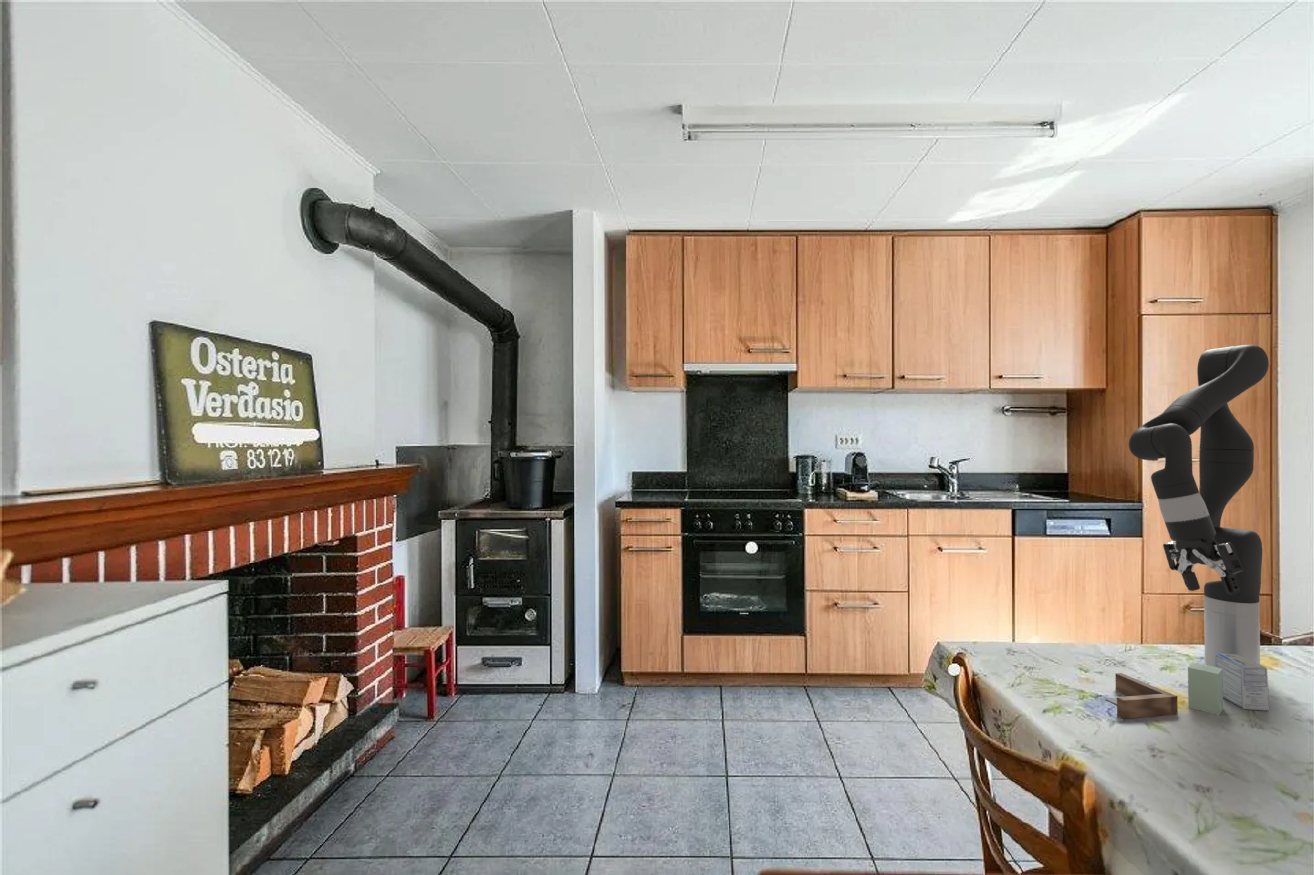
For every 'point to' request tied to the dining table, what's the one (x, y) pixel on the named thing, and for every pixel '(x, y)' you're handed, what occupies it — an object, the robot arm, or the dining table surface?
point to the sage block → (1205, 688)
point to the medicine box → (1244, 681)
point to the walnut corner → (1142, 699)
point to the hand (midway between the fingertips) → (1213, 591)
